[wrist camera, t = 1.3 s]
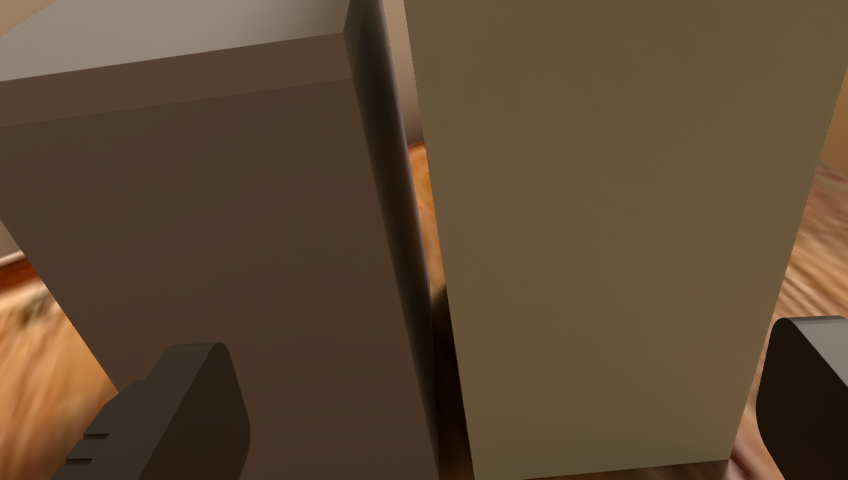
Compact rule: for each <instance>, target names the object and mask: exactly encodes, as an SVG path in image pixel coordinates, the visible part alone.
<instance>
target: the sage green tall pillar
mask: <svg viewBox="0 0 848 480" xmlns="http://www.w3.org/2000/svg"><path fill="white" fill-rule="evenodd" d="M404 6H405V13H406V20H407V27H408V33H409V40H410V46H411V53H412V60H413V67H414V74H415V80H416V87H417V94H418V101H419V107H420V114H421V121H422V127H423V134H424V141H425V148H426V154H427V161H428V168H429V175H430V181H431V188H432V195H433V201H434V208H435V215H436V222H437V228H438V235H439V242H440V248H441V255H442V262H443V269H444V275H445V282H446V289H447V295H448V302H449V309H450V316H451V322H452V329H453V336H454V343H455V349H456V356H457V363H458V369H459V376H460V383H461V390H462V396H463V403H464V410H465V416H466V423H467V430H468V437H469V443H470V450H471V457H472V463H473V470H474V477H475V480H524V479H534V478H544V477H554V476H565V475H575V474H585V473H595V472H606V471H616V470H626V469H636V468H646V467H657V466H667V465H677V464H687V463H698V462H708V461H718V460H728V459H729V458H730V454H731V451H732V448H733V444H734V441H735V438H736V435H737V431H738V428H739V425H740V421H741V418H742V415H743V411H744V408H745V405H746V401H747V398H748V395H749V391H750V388H751V385H752V382H753V378H754V375H755V372H756V368H757V365H758V362H759V358H760V355H761V352H762V348H763V345H764V342H765V338H766V335H767V332H768V328H769V325H770V322H771V319H772V315H773V312H774V309H775V305H776V302H777V299H778V295H779V292H780V289H781V285H782V282H783V279H784V275H785V272H786V269H787V266H788V262H789V259H790V256H791V252H792V249H793V246H794V242H795V239H796V236H797V232H798V229H799V226H800V222H801V219H802V216H803V213H804V209H805V206H806V203H807V199H808V196H809V193H810V189H811V186H812V183H813V179H814V176H815V173H816V169H817V166H818V163H819V159H820V156H821V152H822V149H823V146H824V143H825V139H826V136H827V133H828V130H829V126H830V123H831V120H832V116H833V113H834V109H835V106H836V103H837V100H838V96H839V93H840V90H841V86H842V83H843V80H844V77H845V73H846V70H847V67H848V0H404Z"/></svg>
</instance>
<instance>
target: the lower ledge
mask: <svg viewBox="0 0 848 480" xmlns="http://www.w3.org/2000/svg"><path fill="white" fill-rule="evenodd" d="M0 220H1V221H2V222H3V224H4V225H5V227H6V228H7V230H8V231H9V233H10V234H11V236H12V237H13V239H14V240H15V241H16V243H17V244H18V245H19V247H20V249H21V250H22V252H23V253H24V255H25V256H26V258H27V259H28V260H29V262H30V263H31V265H32V266H33V268H34V269H35V271H36V272H37V274H38V275H39V276H40V278H41V279H42V281H43V282H44V284H45V285H46V287H47V288H48V290H49V291H50V292H51V294H52V295H53V297H54V298H55V300H56V301H57V303H58V304H59V306H60V307H61V308H62V310H63V311H64V313H65V314H66V316H67V317H68V319H69V320H70V322H71V323H72V325H73V326H74V327H75V329H76V330H77V332H78V333H79V335H80V336H81V338H82V339H83V341H84V342H85V343H86V345H87V346H88V348H89V349H90V351H91V352H92V354H93V355H94V357H95V358H96V359H97V361H98V362H99V364H100V365H101V367H102V368H103V370H104V371H105V373H106V374H107V375H108V377H109V378H110V380H111V381H112V383H113V384H114V386H115V387H116V389H117V390H118V392H119V393H120V392H121V391H122V390H124V389H125V388H126V387H127V386H129V385H130V384H131V383H132V382H134V381H135V380H146V378H147V376H148V375H149V373H150V372H151V370H152V369H153V367H154V366H155V364H156V363H157V361H158V360H159V358H160V357H161V355H162V354H163V352H164V351H165V350H166V349H167V348H168V347H169V346H171V345H175V344H196V343H218V342H221V343H223V344H224V345H225V346H226V347H227V348H228V350H229V353H230V356H231V359H232V363H233V366H234V369H235V373H236V376H237V380H238V383H239V387H240V390H241V393H242V397H243V400H244V404H245V407H246V410H247V414H248V418H249V423H250V444H249V451H248V455H247V459H246V462H245V464H244V467H243V470H242V472H241V475H240V478H239V480H440V469H439V450H438V431H437V411H436V392H435V373H434V354H433V335H432V315H431V296H430V278H429V272H428V266H427V260H426V254H425V248H424V242H423V237H422V231H421V225H420V219H419V213H418V207H417V201H416V195H415V189H414V183H413V177H412V172H411V166H410V160H409V154H408V148H407V142H406V136H405V130H404V125H403V118H402V112H401V107H400V101H399V95H398V89H397V83H396V77H395V71H394V65H393V59H392V53H391V47H390V42H389V36H388V30H387V24H386V18H385V12H384V6H383V0H56V1H54V2H53V3H52V4H50V5H49V6H47V7H45V8H44V9H42V10H41V11H39V12H38V13H36V14H35V15H33V16H32V17H30V18H29V19H27V20H26V21H24V22H23V23H21V24H20V25H18V26H16V27H15V28H13V29H12V30H10V31H9V32H7V33H6V34H4V35H3V36H1V37H0Z"/></svg>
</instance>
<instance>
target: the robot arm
mask: <svg viewBox="0 0 848 480" xmlns="http://www.w3.org/2000/svg"><path fill="white" fill-rule="evenodd" d="M756 418H757V424H758V428H759V432H760V435H761V438H762V440H763V443H764V445H765V446H766V448H767V450H768V452H769V453H770V455H771V457H772V458H773V460H774V462H775V463H776V465H777V467H778V469H779V470H780V472H781V474H782V475H783V477H784V479H785V480H848V320H847V319H846V318H844V317H842V316H814V317H792V318H781V319H778V320H777V321H776V322H775V324H774V326H773V328H772V331H771V335H770V339H769V344H768V349H767V353H766V358H765V363H764V367H763V372H762V377H761V381H760V386H759V390H758V395H757V400H756ZM83 435H84V439H83V440H79V441H78V443H77V444H76V446H75V447H74V448H73V450H72V451H71V453H70V454H69V455H68V457H67V458H66V464H65V466H60V468H59V469H58V471H57V472H56V473H55V475H54V476H53V478H52V479H51V480H239V478H240V475H241V472H242V470H243V467H244V464H245V462H246V459H247V455H248V451H249V444H250V423H249V418H248V414H247V410H246V407H245V404H244V400H243V397H242V393H241V390H240V387H239V383H238V380H237V376H236V373H235V369H234V366H233V363H232V359H231V356H230V353H229V350H228V348H227V347H226V346H225V345H224V344H223V343H221V342H218V343H196V344H175V345H171V346H169V347H168V348H167V349H166V350H165V351H164V352H163V354H162V355H161V357H160V358H159V360H158V361H157V363H156V364H155V366H154V367H153V369H152V370H151V372H150V373H149V375H148V376H147V378H146V380H135V381H134V382H132V383H131V384H130V385H129V386H127V387H126V388H125V389H124V390H122V391H121V392H120V393H119V394H118V395H116V396H115V397H114V398H113V399H111V400H110V401H109V402H108V403H106V404H105V405H104V406H103V408H102V409H101V411H100V412H99V413H98V415H97V416H96V418H95V419H94V420H93V422H92V423H91V425H90V426H89V427H88V429H87V430H86V432H85V433H84V434H83Z"/></svg>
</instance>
